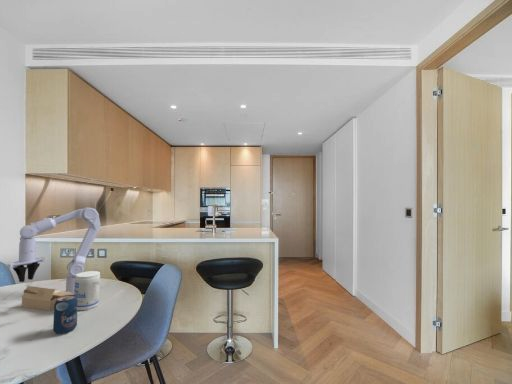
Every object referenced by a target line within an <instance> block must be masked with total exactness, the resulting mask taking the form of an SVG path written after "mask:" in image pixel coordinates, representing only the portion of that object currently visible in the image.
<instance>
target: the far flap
mask: <svg viewBox="0 0 512 384" xmlns="http://www.w3.org/2000/svg"><path fill="white" fill-rule="evenodd" d="M55 290H56V288H49V287H47V288H46V287H39V286H30V285H27V286H26V288H25V289H24V290H23V294H22V296H21V299H22V298H30V299H38V300H45V301H50V300H51V298H52V296H53V294H54V292H55Z"/></svg>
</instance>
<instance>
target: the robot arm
mask: <svg viewBox="0 0 512 384" xmlns="http://www.w3.org/2000/svg"><path fill="white" fill-rule="evenodd" d="M73 219H84V220H85V222H86V223H87V225H88V228H87V230H86V232H85V234H84V237H83V239H82V241H81V243H80V245H79V247H78V249H77V251H76V253H75V255H74V257H73V258H72V259H71V260H70V262H69V263H68V264H67V265H66V269H67V271H68V273H67V274H66V278H65V279H66V281H65V292H72V295H74V287H75V277H76V274H78V273H82V272H85V271H84V270H85V264H86V260H87V259H86V258H87V256H88V254H89V252H90V250H91V247H92V245H93V244H94V241H95V239H96V237H97V235H98V232H99V230H100V228H101V220H100V214H99V212H98V211H97V209H95V208H93V207H89V206H87V207H84V208H79V209H75V210H73V211H70V212H68V213H67V212H66V213H64V214H63V215H60V216H57V217H54V218H51V217H47V218H46V217H43V218H42V219H41V220H39V221H36V222H30V225H29V224H27V225H24V226H22V227H21V228H20V231H19V235H20V237H19V243H18V261H15V262H11V263H7V264H6V269H7V270H8V269H9V270H12V269H13V270H14V272H15V274H16V275H17V278H18V281H19V283H24V282H25V280H26V272H27V280H31V281H33V280H34V277H35V274H36V272H37V270H38V268H39V267H40V264H41V263H42V262H45V260H46V259H45V257H36V242H37V241H36V235H40V234H43V233H46V232H48V231H50V230H53V229H55V228H56V227H57V225H58V224H59V225H60V224H62V223H65V222H67V221H71V220H73Z"/></svg>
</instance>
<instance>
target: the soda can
mask: <svg viewBox="0 0 512 384" xmlns="http://www.w3.org/2000/svg"><path fill="white" fill-rule="evenodd" d="M56 300H57V301H56V302H55V304H54V309H53V326H52V327H53V328H52V330H53V332H54V333H55V335H58V336H60V335H61V336H62V335H67V334H69V333H72V332H73V331H75V329H76V328H77V326H78V310H77V305H78V300H77V298H76V296H75V295H65V296H61V297H59V298H57V299H56Z"/></svg>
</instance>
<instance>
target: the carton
mask: <svg viewBox="0 0 512 384" xmlns="http://www.w3.org/2000/svg"><path fill="white" fill-rule="evenodd" d="M65 295H72V292H66V290H65V291H63V290H55V292H54V294H53V296H52V298H51V300H50V301H45V300H38V299H30V298H22V297H21V307H22V308H29V309H36V310H44V311H54V304H55V302H56V301H57V300H56V299H57V298H59V297H61V296H65Z"/></svg>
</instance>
